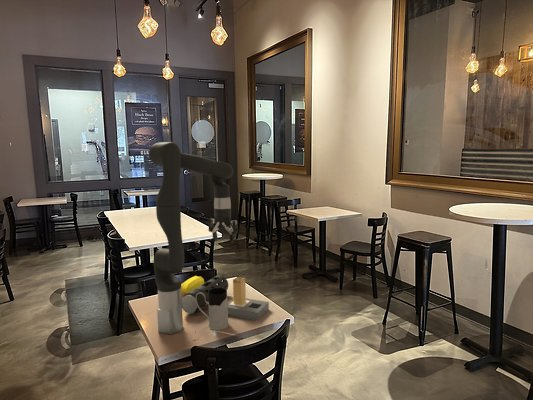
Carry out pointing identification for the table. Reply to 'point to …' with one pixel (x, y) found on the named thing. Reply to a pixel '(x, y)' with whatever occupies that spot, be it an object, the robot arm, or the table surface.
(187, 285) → the yellow banana
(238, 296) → the plug
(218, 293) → the white pitcher
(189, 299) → the muzzle brake
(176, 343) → the table surface
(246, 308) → the block
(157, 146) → the robot arm
